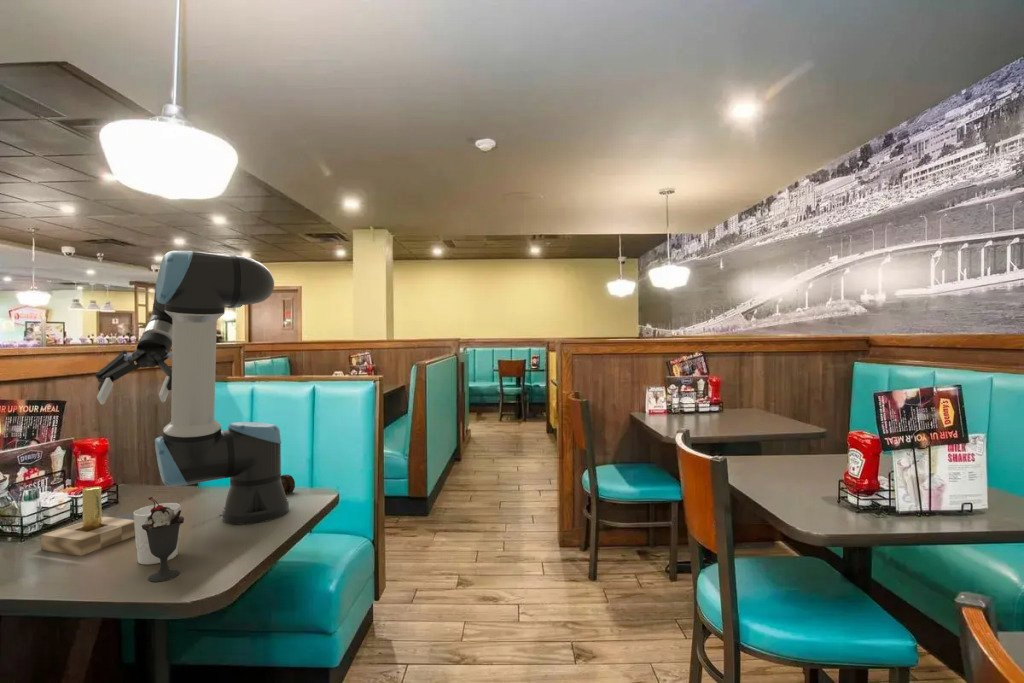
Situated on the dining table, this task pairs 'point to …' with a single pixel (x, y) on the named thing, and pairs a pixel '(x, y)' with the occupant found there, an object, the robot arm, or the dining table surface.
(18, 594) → the dining table surface
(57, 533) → the oak socket block
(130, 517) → the rubber mat
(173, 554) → the white cup
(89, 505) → the brass pin
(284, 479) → the bolt
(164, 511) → the sundae
